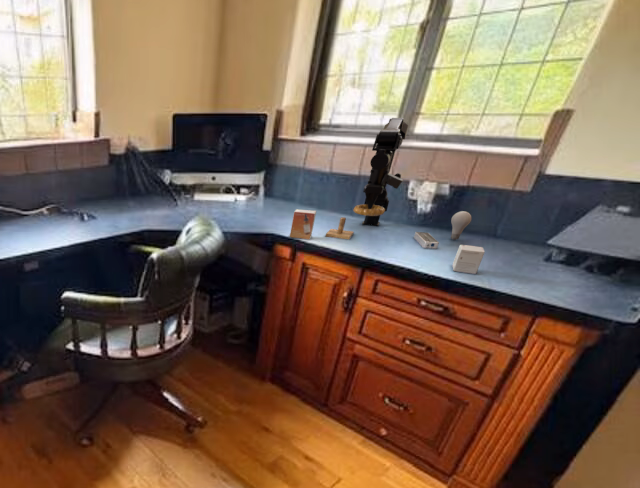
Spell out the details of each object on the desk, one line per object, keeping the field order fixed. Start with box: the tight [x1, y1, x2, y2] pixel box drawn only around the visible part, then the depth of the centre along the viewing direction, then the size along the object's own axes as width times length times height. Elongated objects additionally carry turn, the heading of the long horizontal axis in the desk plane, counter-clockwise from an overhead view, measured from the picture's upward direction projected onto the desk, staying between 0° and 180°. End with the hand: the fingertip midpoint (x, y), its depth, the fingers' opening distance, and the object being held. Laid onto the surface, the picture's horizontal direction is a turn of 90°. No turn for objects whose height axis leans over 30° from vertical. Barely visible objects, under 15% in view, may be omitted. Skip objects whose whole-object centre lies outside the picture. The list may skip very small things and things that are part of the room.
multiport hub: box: [413, 231, 440, 250], centre depth 162 cm, size 4×14×2 cm, turn 162°
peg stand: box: [325, 216, 355, 240], centre depth 172 cm, size 9×9×7 cm
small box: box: [289, 208, 317, 240], centre depth 171 cm, size 8×6×10 cm
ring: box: [353, 203, 386, 217], centre depth 165 cm, size 11×11×2 cm
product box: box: [452, 244, 486, 275], centre depth 134 cm, size 6×6×7 cm
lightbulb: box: [450, 210, 472, 241], centre depth 162 cm, size 6×6×11 cm
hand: (370, 208), depth 168 cm, fingers closed on ring, 2 cm apart
